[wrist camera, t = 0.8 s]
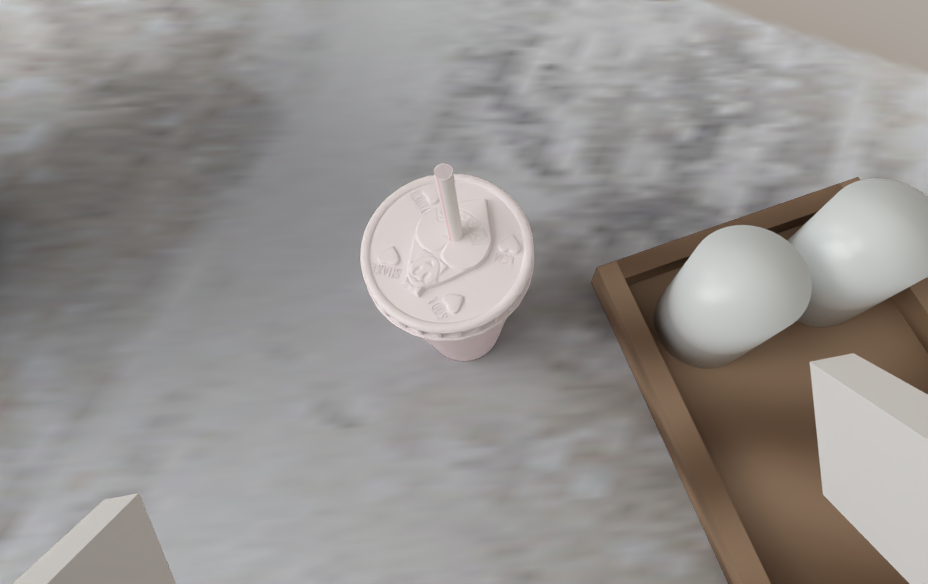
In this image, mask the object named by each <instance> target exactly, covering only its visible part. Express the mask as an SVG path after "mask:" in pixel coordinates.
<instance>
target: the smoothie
mask: <svg viewBox="0 0 928 584" xmlns="http://www.w3.org/2000/svg"><path fill="white" fill-rule="evenodd" d="M360 263H361V270H362V274H363V278H364V281H365V284H366V286H367V290H368V292H369V294H370V296H371V298H372V299H373V301H374V303H375V305H376V307H377V308H378V310H379V311H380V312H381V313H382V314H383V315H384V316H385V317H386V318H387V319H388V320H389V321H390V322H391V323H392V324H393V325H395V326H397V327H399V328H400V329H402V330H404V331H406V332H408V333H409V334H411V335H413V336H417V337H421V338H424V339H425V340H426V341H427V342H428V343H430V344H431V345H432V346H433V347H434V348H436V349H437V350H438V351H439V352H440V353H441V354H443V355H444V356H446V357H448V358H450V359H453V360H457V361H471V360H475V359H478V358H480V357H482V356H484V355H485V354H486V353H488V352H489V351H490V350H491V349H492V348H493V346H494V345H495V343H496V341H497V339H498V337H499V335H500V332H501V330H502V328H503V325H504V323H505V321H506V319H507V317H508V316H509V315H510V314H511V313H512V312H513V311H514V310H515V309H516V308H517V307H518V306H519V304H520V303H521V301H522V299H523V297H524V296H525V294H526V292H527V291H528V289H529V287H530V283H531V279H532V275H533V271H534V267H535V266H534V242H533V235H532V231H531V228H530V225H529V222H528V220H527V218H526V216H525V214H524V212H523V211H522V209H521V208H520V206H519V205H518V204H517V202H516V201H515V200H514V199H513V198H512V197H511V196H510V195H509V194H507V193H506V192H505V191H504V190H502V189H501V188H499V187H498V186H496V185H494V184H493V183H491V182H489V181H486V180H484V179H481V178H478V177H475V176H471V175H465V174H456V173H453V170H452V167H451V166H450V165H448V164H445V163H442V164H439V165H437V166H436V167H435V169H434V175H430V176H426V177H423V178H420V179H417V180H414V181H412V182H410V183H408V184H406V185H404V186H402V187H401V188H399V189H397V190H396V191H395V192H393V193H392V194H391V195H390V196H388V197H387V198H386V199H385V200H384V201H383V202H382V203H381V204H380V206H379V207H378V208H377V209H376V211H375V212H374V214H373V215H372V217H371V218H370V220H369V222H368V224H367V226H366V229H365V231H364V235H363V238H362V243H361V250H360Z"/></svg>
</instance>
